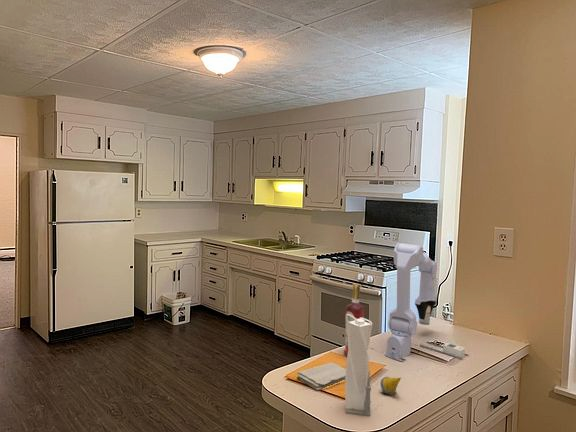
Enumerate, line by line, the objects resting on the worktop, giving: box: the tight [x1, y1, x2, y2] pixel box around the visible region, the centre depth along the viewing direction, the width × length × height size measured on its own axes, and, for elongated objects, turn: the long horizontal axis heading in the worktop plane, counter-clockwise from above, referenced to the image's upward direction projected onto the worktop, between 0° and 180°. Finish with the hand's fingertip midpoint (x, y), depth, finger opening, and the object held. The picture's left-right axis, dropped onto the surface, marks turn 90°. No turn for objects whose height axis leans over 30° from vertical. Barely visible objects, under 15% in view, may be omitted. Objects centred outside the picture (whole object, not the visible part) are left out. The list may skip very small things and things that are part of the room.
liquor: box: [343, 283, 366, 356], centre depth 166 cm, size 7×7×28 cm
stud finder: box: [442, 342, 466, 358], centre depth 169 cm, size 4×7×3 cm, turn 44°
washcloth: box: [296, 362, 346, 391], centre depth 147 cm, size 12×18×3 cm, turn 129°
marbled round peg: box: [418, 304, 431, 326], centre depth 188 cm, size 4×4×8 cm
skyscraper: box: [344, 313, 374, 417], centre depth 127 cm, size 8×8×28 cm
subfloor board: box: [419, 341, 469, 361], centre depth 174 cm, size 20×21×2 cm
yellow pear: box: [379, 376, 402, 396], centre depth 137 cm, size 5×5×10 cm
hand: (424, 317), depth 189 cm, fingers closed on marbled round peg, 4 cm apart
